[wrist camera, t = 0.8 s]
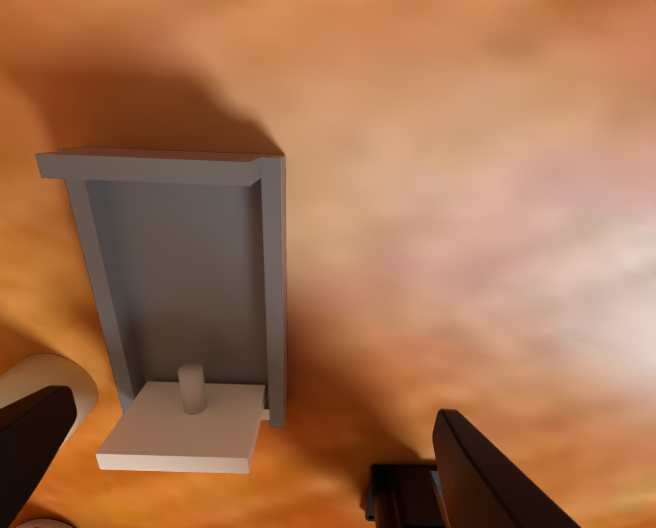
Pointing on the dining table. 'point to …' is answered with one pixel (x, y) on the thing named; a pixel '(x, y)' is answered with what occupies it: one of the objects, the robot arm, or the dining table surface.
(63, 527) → the soda can
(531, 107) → the dining table surface
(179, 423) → the pusher
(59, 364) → the jar
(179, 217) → the lane
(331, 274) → the dining table surface
